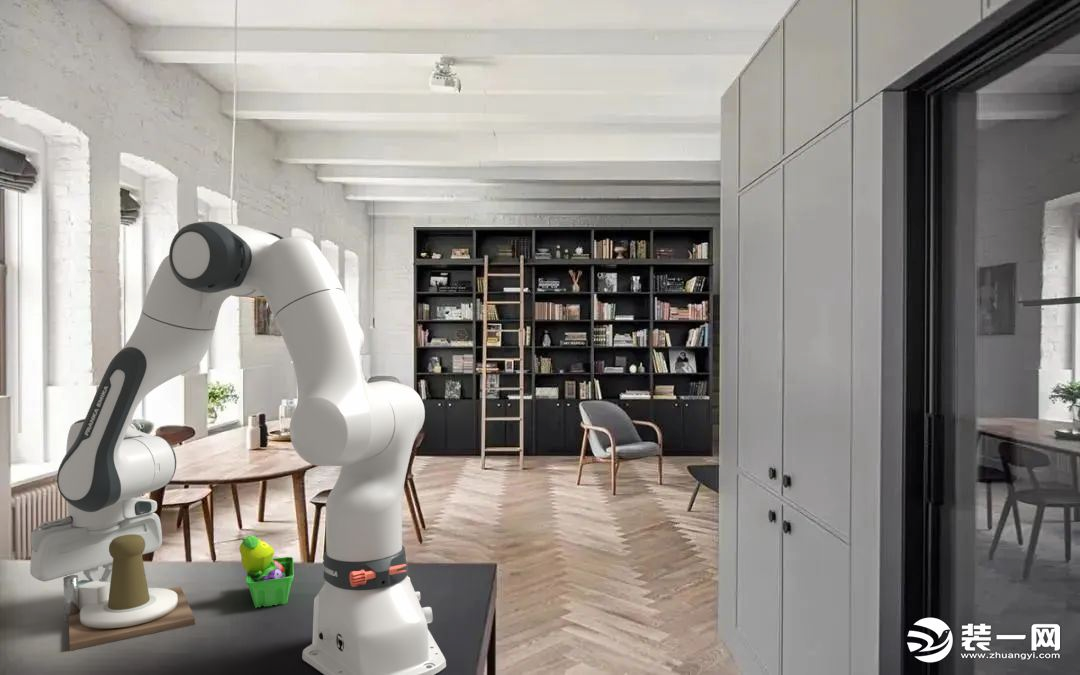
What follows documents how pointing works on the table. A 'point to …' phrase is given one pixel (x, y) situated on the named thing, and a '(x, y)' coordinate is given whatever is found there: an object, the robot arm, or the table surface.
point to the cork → (127, 573)
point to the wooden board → (94, 636)
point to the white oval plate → (100, 616)
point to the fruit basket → (266, 572)
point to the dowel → (70, 596)
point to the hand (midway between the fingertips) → (100, 590)
